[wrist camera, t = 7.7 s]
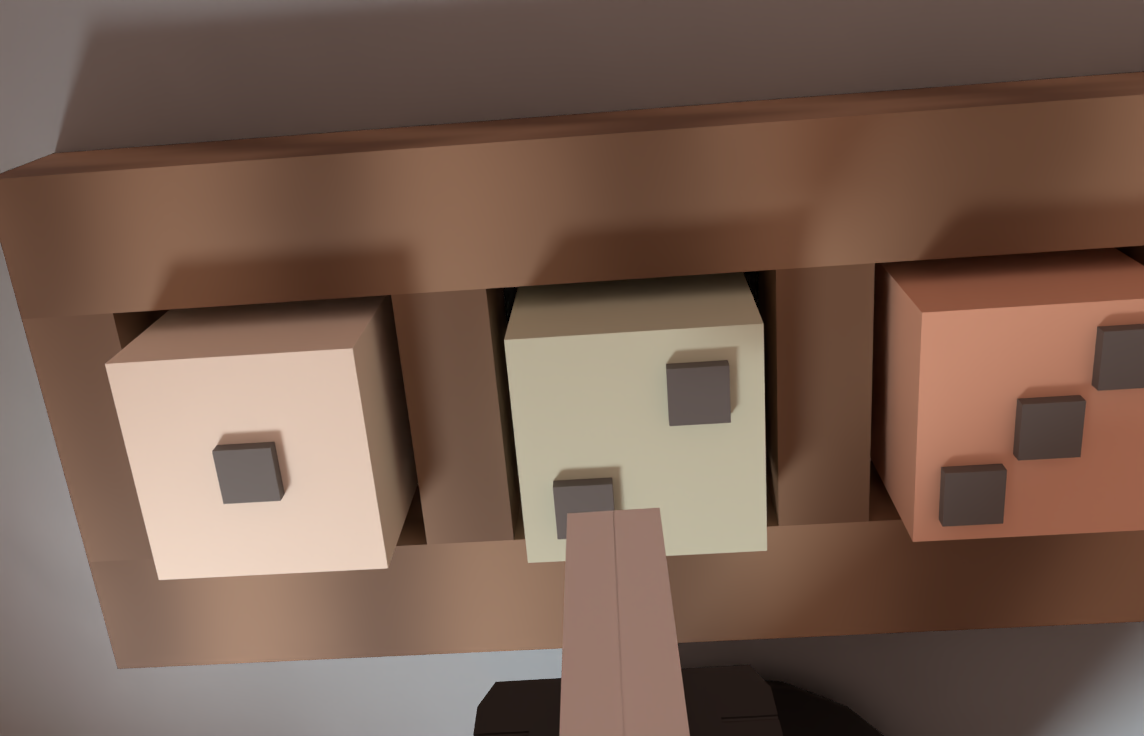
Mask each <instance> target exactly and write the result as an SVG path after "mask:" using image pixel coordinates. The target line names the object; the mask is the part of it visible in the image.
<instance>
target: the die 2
mask: <svg viewBox="0 0 1144 736" xmlns="http://www.w3.org/2000/svg"><path fill="white" fill-rule="evenodd" d="M504 344H505V354H506V363H507V372H508V382H509V391H510V400H511V410H512V419H513V428H514V438H515V447H516V456H517V466H518V475H519V484H520V493H521V503H522V512H523V521H524V531H525V540H526V549H527V559H528V563H537V562H557V561H566V534H567V513H583V512H598V511H614V510H630V509H646V508H660V515H661V522H662V530H663V537H664V545H665V552H666V556H675V555H694V554H714V553H734V552H753V551H767V510H766V446H765V382H764V323H763V321H762V318H761V316H760V313H759V311H758V308H757V306H756V303H755V301H754V298H753V296H752V293H751V291H750V289H749V286H748V284H747V281H746V279H745V276H744V274H743V272H732V273H717V274H702V275H686V276H671V277H656V278H641V279H626V280H610V281H595V282H580V283H565V284H550V285H534V286H519V287H518V289H517V293H516V297H515V301H514V304H513V308H512V312H511V316H510V319H509V323H508V327H507V331H506V335H505V338H504Z"/></svg>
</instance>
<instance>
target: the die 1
mask: <svg viewBox="0 0 1144 736" xmlns="http://www.w3.org/2000/svg"><path fill="white" fill-rule="evenodd" d="M105 367H106V371H107V375H108V379H109V383H110V387H111V391H112V395H113V399H114V403H115V407H116V411H117V415H118V419H119V423H120V427H121V431H122V435H123V439H124V443H125V447H126V451H127V455H128V459H129V463H130V467H131V471H132V475H133V479H134V483H135V487H136V491H137V495H138V499H139V503H140V507H141V511H142V515H143V519H144V523H145V527H146V531H147V535H148V539H149V543H150V547H151V551H152V555H153V559H154V563H155V567H156V571H157V575H158V579H159V580H170V579H190V578H210V577H229V576H249V575H269V574H288V573H308V572H328V571H347V570H367V569H386V568H388V567H389V564H390V561H391V558H392V555H393V553H394V550H395V547H396V544H397V541H398V539H399V536H400V533H401V530H402V527H403V524H404V522H405V519H406V516H407V513H408V510H409V507H410V505H411V502H412V499H413V496H414V493H415V490H416V488H417V485H418V477H417V470H416V463H415V457H414V450H413V443H412V436H411V429H410V422H409V415H408V408H407V401H406V394H405V387H404V381H403V374H402V367H401V360H400V353H399V346H398V339H397V332H396V325H395V318H394V311H393V304H392V298H391V295H383V296H367V297H352V298H337V299H322V300H307V301H291V302H276V303H261V304H246V305H231V306H215V307H200V308H185V309H170V310H169V311H167V312H166V313H165V314H164V315H163V316H162V317H160V318H159V319H158V320H157V321H156V322H154V323H153V324H152V325H151V326H150V327H148V328H147V329H146V330H145V331H144V332H142V333H141V334H140V335H139V336H138V337H136V338H135V339H134V340H133V341H132V342H130V343H129V344H128V345H127V346H126V347H125V348H123V349H122V350H121V351H120V352H119V353H117V354H116V355H115V356H114V357H113V358H111V359H110V360H109V361H108V362H107V363H105Z"/></svg>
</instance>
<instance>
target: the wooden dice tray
mask: <svg viewBox="0 0 1144 736" xmlns="http://www.w3.org/2000/svg"><path fill="white" fill-rule="evenodd" d="M0 242H1V246H2V249H3V253H4V257H5V260H6V264H7V267H8V271H9V275H10V278H11V282H12V286H13V289H14V293H15V297H16V300H17V304H18V307H19V311H20V315H21V318H22V322H23V326H24V329H25V333H26V337H27V340H28V344H29V347H30V351H31V355H32V358H33V362H34V366H35V369H36V373H37V377H38V380H39V384H40V387H41V391H42V395H43V398H44V402H45V406H46V409H47V413H48V417H49V420H50V424H51V427H52V431H53V435H54V438H55V442H56V446H57V449H58V453H59V457H60V460H61V464H62V467H63V471H64V475H65V478H66V482H67V486H68V489H69V493H70V497H71V500H72V504H73V507H74V511H75V515H76V518H77V522H78V526H79V529H80V533H81V537H82V540H83V544H84V547H85V551H86V555H87V558H88V562H89V566H90V569H91V573H92V576H93V580H94V584H95V587H96V591H97V595H98V598H99V602H100V606H101V609H102V613H103V616H104V620H105V624H106V627H107V631H108V635H109V638H110V642H111V646H112V649H113V653H114V656H115V660H116V664H117V667H118V669H123V668H145V667H166V666H188V665H210V664H231V663H253V662H275V661H296V660H318V659H340V658H361V657H383V656H405V655H426V654H448V653H470V652H491V651H513V650H535V649H556V648H563V620H564V591H565V563H566V561H557V562H537V563H528V559H527V549H526V540H525V531H524V521H523V512H522V503H521V493H520V484H519V475H518V466H517V456H516V447H515V438H514V428H513V419H512V410H511V400H510V391H509V382H508V372H507V363H506V354H505V344H504V338H505V335H506V331H507V318H506V308H505V299H504V289H503V288H504V287H519V286H534V285H550V284H565V283H580V282H595V281H610V280H626V279H641V278H656V277H671V276H686V275H702V274H717V273H732V272H747V271H758V288H759V313H760V316H761V318H762V321H763V323H764V382H765V446H766V510H767V551H753V552H734V553H714V554H694V555H675V556H666V560H667V567H668V575H669V582H670V590H671V598H672V605H673V613H674V620H675V628H676V635H677V643H686V642H708V641H729V640H751V639H773V638H794V637H816V636H838V635H859V634H881V633H903V632H924V631H946V630H968V629H989V628H1011V627H1033V626H1054V625H1076V624H1098V623H1119V622H1141V621H1144V530H1138V531H1118V532H1098V533H1079V534H1059V535H1039V536H1020V537H1000V538H981V539H961V540H941V541H922V542H913V541H912V539H911V537H910V535H909V533H908V531H907V529H906V527H905V525H904V523H903V521H902V519H901V517H900V515H899V513H898V511H897V509H896V507H895V505H894V503H893V501H892V499H891V497H890V495H889V493H888V491H887V489H886V487H885V485H884V483H883V481H882V480H881V478H880V476H879V474H878V472H877V470H876V468H875V466H874V464H873V462H872V460H870V447H871V403H872V359H873V315H874V271H875V263H884V262H899V261H914V260H930V259H945V258H960V257H975V256H990V255H1006V254H1021V253H1036V252H1051V251H1066V250H1082V249H1097V248H1112V247H1114V248H1115V249H1117V250H1119V251H1120V252H1122V253H1124V254H1125V255H1127V256H1129V257H1130V258H1132V259H1134V260H1135V261H1137V262H1138V263H1140V264H1142V265H1143V266H1144V72H1133V73H1120V74H1107V75H1093V76H1080V77H1067V78H1053V79H1040V80H1027V81H1013V82H1000V83H987V84H973V85H960V86H946V87H933V88H920V89H906V90H893V91H880V92H866V93H853V94H840V95H826V96H813V97H800V98H786V99H773V100H759V101H746V102H733V103H719V104H706V105H693V106H679V107H666V108H653V109H639V110H626V111H613V112H599V113H586V114H572V115H559V116H546V117H532V118H519V119H506V120H492V121H479V122H466V123H452V124H439V125H426V126H412V127H399V128H385V129H372V130H359V131H345V132H332V133H319V134H305V135H292V136H279V137H265V138H252V139H239V140H225V141H212V142H198V143H185V144H172V145H158V146H145V147H132V148H118V149H105V150H92V151H78V152H65V153H53V154H50V155H48V156H45V157H43V158H40V159H37V160H35V161H32V162H29V163H27V164H24V165H22V166H19V167H16V168H14V169H11V170H8V171H6V172H3V173H1V174H0ZM383 295H391V298H392V304H393V311H394V318H395V325H396V332H397V339H398V346H399V353H400V360H401V367H402V374H403V381H404V387H405V394H406V401H407V408H408V415H409V422H410V429H411V436H412V443H413V450H414V457H415V463H416V470H417V477H418V484H419V485H417V488H416V490H415V493H414V496H413V499H412V502H411V505H410V507H409V510H408V513H407V516H406V519H405V522H404V524H403V527H402V530H401V533H400V536H399V539H398V541H397V544H396V547H395V550H394V553H393V555H392V558H391V561H390V564H389V567H388V568H386V569H367V570H347V571H328V572H308V573H288V574H269V575H249V576H229V577H210V578H190V579H170V580H159V579H158V575H157V571H156V567H155V563H154V559H153V555H152V551H151V547H150V543H149V539H148V535H147V531H146V527H145V523H144V519H143V515H142V511H141V507H140V503H139V499H138V495H137V491H136V487H135V483H134V479H133V475H132V471H131V467H130V463H129V459H128V455H127V451H126V447H125V443H124V439H123V435H122V431H121V427H120V423H119V419H118V415H117V411H116V407H115V403H114V399H113V395H112V391H111V387H110V383H109V379H108V375H107V371H106V367H105V363H107V362H108V361H109V360H110V359H111V358H113V357H114V356H115V355H116V354H117V353H119V352H120V351H121V350H122V349H123V348H125V347H126V346H127V345H128V344H129V343H130V342H132V341H133V340H134V339H135V338H136V337H138V336H139V335H140V334H141V333H142V332H144V331H145V330H146V329H147V328H148V327H150V326H151V325H152V324H153V323H154V322H156V321H157V320H158V319H159V318H160V317H162V316H163V315H164V314H165V313H166V312H167V311H169V310H170V309H185V308H200V307H215V306H231V305H246V304H261V303H276V302H291V301H307V300H322V299H337V298H352V297H367V296H383Z"/></svg>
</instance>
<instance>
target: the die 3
mask: <svg viewBox="0 0 1144 736" xmlns="http://www.w3.org/2000/svg"><path fill="white" fill-rule="evenodd" d="M870 458H871V460H872V462H873V464H874V466H875V468H876V470H877V472H878V474H879V476H880V478H881V480H882V481H883V483H884V485H885V487H886V489H887V491H888V493H889V495H890V497H891V499H892V501H893V503H894V505H895V507H896V509H897V511H898V513H899V515H900V517H901V519H902V521H903V523H904V525H905V527H906V529H907V531H908V533H909V535H910V537H911V539H912V541H913V542H922V541H941V540H961V539H981V538H1000V537H1020V536H1039V535H1059V534H1079V533H1098V532H1118V531H1138V530H1144V266H1143V265H1142V264H1140V263H1138V262H1137V261H1135V260H1134V259H1132V258H1130V257H1129V256H1127V255H1125V254H1124V253H1122V252H1120V251H1119V250H1117V249H1115V248H1114V247H1112V248H1097V249H1082V250H1066V251H1051V252H1036V253H1021V254H1006V255H990V256H975V257H960V258H945V259H930V260H914V261H899V262H884V263H875V271H874V315H873V359H872V403H871V447H870Z"/></svg>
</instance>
